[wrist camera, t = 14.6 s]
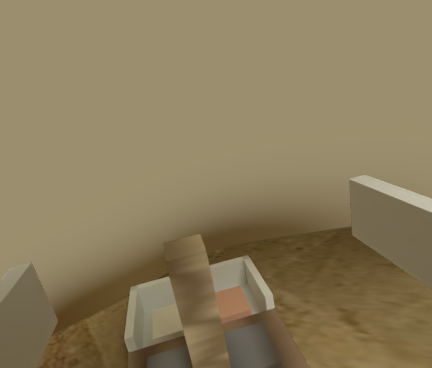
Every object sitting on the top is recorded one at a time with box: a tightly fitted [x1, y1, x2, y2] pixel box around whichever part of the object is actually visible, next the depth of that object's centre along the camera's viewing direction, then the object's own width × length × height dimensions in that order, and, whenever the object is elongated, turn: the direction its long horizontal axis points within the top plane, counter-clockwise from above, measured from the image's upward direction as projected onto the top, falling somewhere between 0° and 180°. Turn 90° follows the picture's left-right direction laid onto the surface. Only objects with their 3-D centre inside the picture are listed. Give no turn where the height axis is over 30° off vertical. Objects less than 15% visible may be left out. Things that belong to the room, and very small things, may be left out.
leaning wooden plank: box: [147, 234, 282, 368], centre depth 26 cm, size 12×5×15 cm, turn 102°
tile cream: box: [153, 304, 184, 345], centre depth 37 cm, size 5×5×3 cm
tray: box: [124, 255, 275, 352], centre depth 40 cm, size 18×10×5 cm, turn 102°
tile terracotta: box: [215, 285, 252, 324], centre depth 38 cm, size 5×5×3 cm
